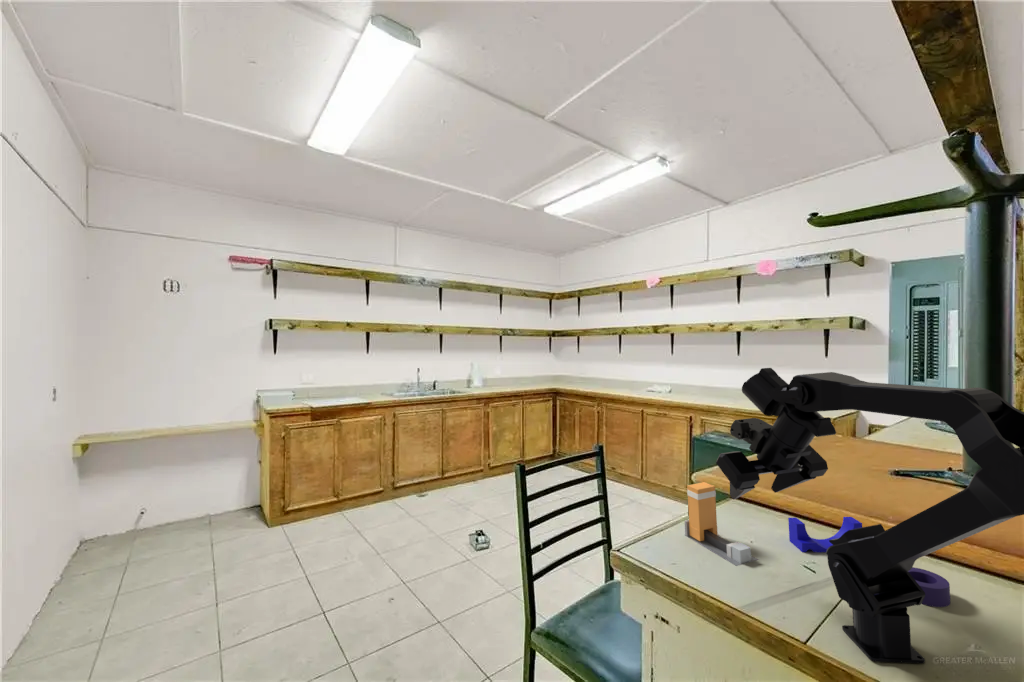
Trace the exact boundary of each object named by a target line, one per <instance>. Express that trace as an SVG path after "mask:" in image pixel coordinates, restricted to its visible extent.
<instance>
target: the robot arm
mask: <svg viewBox="0 0 1024 682" xmlns="http://www.w3.org/2000/svg"><path fill="white" fill-rule="evenodd" d="M741 391H742V394H743V395H744V396H745V397H746V398H747V399H748V400H749V401H750V402H751V403H752V404H753V405H754V406H755V407H756V408H757V409H758V410H759V411H760V412H761V413H762V414H763V415H764V416H766V417H772V416H774V417H777V418H776V420H775V421H774V423H773V424H770V423H768V422H766V421H765V420H763V419H760V418H758V417H752V418H743V419H742V418H741V419H735V420H734V421H733V422H732V423H731V425H730V430H729V432H730V435H731V436H733V437H734V438H736V439H737V440H740V441H741V440H743V441H744V442H746V443H748V444H750V445H749V447H748V449H749V450H750V451H751V452H752V453H753V454H756V459H754V460H749V459H748V458H747V456H746V455H745V454H744V453H743V452H742V451H737V450H735V451H730V452H729V451H728V452H721V453H720V454H719V455H718V457H717V458H716V461H715V464H716V465H717V467H718V468H719V469H720V471H721V472H722V473H723V475H724V476H725V477H726V478H727V480H728V481H729V497H730V498H731V499H732V500H736V499H739V498H740V497H742V496H744V495H745V494H747V493H749V492H751V491H752V490H754V489H755V488H756V485H757V484H758V482H760V480H761V478H760V475H766V474H774V476H775V475H776V476H775V478H774V480H773V482H772V484H771V490H772V491H773V493H774V494H775V493H779V492H782V491H784V490H787V489H789V488H792V487H795V486H797V485H799V484H803V483H805V482H808V481H811V480H815V479H816V478H818V477H823V476H824V475H825V474H826V472H827V471H828V470H829V466H828V463H827V460H826V459H825V458H823V457H822V455H821V454H819V452H818V451H816V450H815V449H814V447H812V446H811V445H810V444H811V442H812V441H813V440H814V438H815V437H816V438H819V437H826V436H834V435H836V434H837V430H836V428H835V426H834V425H833V423H832V418H831V417H824V416H823V415H822V414H821V413H819V412H829V411H831V412H833V411H848V410H850V411H851V410H853V411H860V412H869V413H875V414H883V415H884V414H885V415H892V416H899V417H906V418H907V417H908V418H912V419H913V418H915V419H922V420H931V421H938V422H944V423H945V424H946V425H948V426H949V427H950V428H951V429H952V430H953V431H954V433H955V435H956V436H957V438H958V439H959V441H960V443H961V445H962V447H963V449H964V451H965V452H966V454H967V456H969V458H970V459H972V460H973V462H975V463H976V464H977V465H978V466H979V467H980V468H978V470H977V471H975V472H974V474H973V476H972V478H971V480H970V481H969V483H968V485H967V487H965V488H964V489H963V490H961V491H959V492H956V493H955V494H952V495H951V496H949V497H947V498H945V499H943V500H941V501H939V502H938V503H936V504H934V505H931V506H930V507H928V508H926V509H924V510H923V511H921V512H918V513H916V514H915V515H913V516H911V517H908V518H907V519H905V520H903V521H901V522H900V523H898V524H896V525H893V526H891V527H890V528H888V529H886V530H885V528H884V526H883V525H882V523H878V524H873V525H869V526H862V528H857V529H852V530H848V531H847V532H845V533H844V534H843V535H842V536H841V537H840V538H837V539H832V540H829V542H830V543H831V544H833V545H832V546H830V547H829V548H828V549H827V551H826V552H825V555H826V556H827V565H828V569H829V572H830V575H831V578H832V579H833V583H834V586H835V589H836V592H837V595H838V598H840V599H841V600H842V601H844V602H846V603H847V605H848V607H849V608H851V609H852V610H851V611H852V623H853V625H846V624H845V625H842V626H841V628H842V631H843V632H844V633H845V634H846V636H848V637H849V638H850V640H852V641H853V643H854V644H855V645H856V646H857V647H858V648H859V649H860V650H861V651H862V653H863V654H865V656H866V657H867V658H868V659H869V660H871V661H872V662H877V663H878V662H879V663H880V662H881V663H882V662H884V663H901V664H902V663H903V664H904V663H905V664H925V663H926V659H925V657H924V656H923V655H922V654H921V653H919V651H918V650H916V649H915V648H914V647H913V646H912V643H911V641H912V639H911V638H912V637H911V621H910V620H911V618H910V614H908V608H910V607H913V606H920V605H923V604H922V602H923V599H924V597H925V592H924V591H923V590H922V588H921V587H920V586H919V584H918V583H917V582H916V581H915V579H914V578H913V577H912V576H911V574H910V573H909V572H908V571H909V570H911V569H912V567H913V566H914V564H915V563H916V561H917V560H918V559H919V558H922V557H925V556H927V555H930V554H931V553H934V552H936V551H939V550H941V549H944V548H945V547H948V546H951V545H953V544H955V543H957V542H959V541H962V540H965V539H966V538H969V537H972V536H975V535H976V534H979V533H980V532H983V531H985V530H988V529H989V528H993V527H994V526H998V525H1000V524H1002V523H1004V522H1006V521H1008V520H1011V519H1014V518H1015V517H1020V516H1024V411H1022V410H1020V409H1018V408H1016V407H1014V406H1013V405H1012V404H1010V403H1009V402H1008V401H1006V400H1005V399H1004V398H1003V397H1002V396H1000V394H997V393H995V392H994V391H992V390H989V389H987V388H984V387H983V388H982V387H969V388H959V387H943V386H942V387H941V386H929V385H928V386H925V385H912V384H898V383H897V384H896V383H883V382H871V381H869V382H868V381H864V380H862V379H861V380H860V379H858V378H856V377H855V376H852V375H847V374H843V373H839V372H834V371H828V372H816V373H806V374H805V373H803V374H797V375H794V376H793V377H792V379H791V380H790V382H789V383H788V382H787V381H785V380H784V379H783V378H782V377H781V376H780V375H778V372H776V370H774V369H773V368H772V367H763V368H760V369H759V372H758V373H755V374H753V375H752V376H750V377H749V378H748V379H747V380H746V381H744V382H743V384H742V386H741ZM1014 445H1015V446H1016V447H1015V446H1014Z"/></svg>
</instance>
